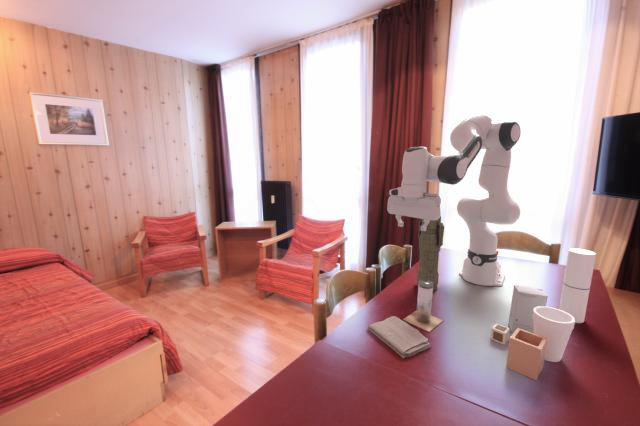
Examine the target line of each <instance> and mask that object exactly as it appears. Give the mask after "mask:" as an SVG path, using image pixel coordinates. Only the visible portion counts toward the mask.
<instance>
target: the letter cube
mask: <svg viewBox="0 0 640 426" xmlns="http://www.w3.org/2000/svg"><path fill="white" fill-rule="evenodd" d="M510 332H511V330H510V327H507V326H504V325H502V324H500V323H497V322H496V323H495V324H494V325H493V326H492V327H491V332H490V337H489V338H490V340H492V341H493V342H496V343H498V344H501V345H503V346H505V345H506V343H507V342H509V340H510Z"/></svg>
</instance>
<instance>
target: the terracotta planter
mask: <svg viewBox="0 0 640 426" xmlns="http://www.w3.org/2000/svg"><path fill="white" fill-rule="evenodd" d="M547 339H548V338H545V337H542V336H539V335H537V334H534V333H531V332H528V331H526V330H523V329H520V328H517V329H516V330H515V332H514V333H511V336H509V340H508V348H507V349H508V350H507V356H506V364H505V367H506V368H509V370H510V369H511V370H513V371H514V372H517V373H519V374H521V375H523V376H526V377H528V378H530V379H532V380H535V381H538V379H539V376H540V374H541V373H542V370H544V363H545V360H544V358H545V352H546V345H547Z"/></svg>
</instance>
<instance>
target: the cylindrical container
mask: <svg viewBox="0 0 640 426" xmlns="http://www.w3.org/2000/svg"><path fill="white" fill-rule="evenodd" d="M567 251H568V252H567V256H566V257H567V258H566V263H565V269H564V276H563V282H562V283H563V284H562V288H561V294H560V302H559V308H558V309H559V310H562V311H564V312H567V313H569V314H570V315H571V316H573V317H574V319H575V324H582V323H584V322H585V317H586V312H587V308H588V307H587V306H588V301H589V296H590V289H591V284H592V279H593V274H594V269H595V268H594V267H595V263H596V256H597V253H596V252H594V251H592V250H589V249H584V248H578V247H577V248H575V247H574V248H569V249H568V250H567Z"/></svg>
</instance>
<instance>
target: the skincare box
mask: <svg viewBox="0 0 640 426" xmlns="http://www.w3.org/2000/svg"><path fill="white" fill-rule="evenodd" d="M548 297H549V296H548V295H547V293H546V292H545V291H544V290H543V289H542V288H535V287H530V286H525V285H523V286H522V285H516V284H515V285H513V290H512V297H511V304H510V309H509V315H508V316H509V317H508V323H507V324H508V328H510V332H511V334H513V333H514V332H515V330H516V329H517V328H520V329H523V330H526V331H528V332H531V333H534V326H533V310H534V308H535V307H537V306H546V307H547V302H548Z"/></svg>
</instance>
